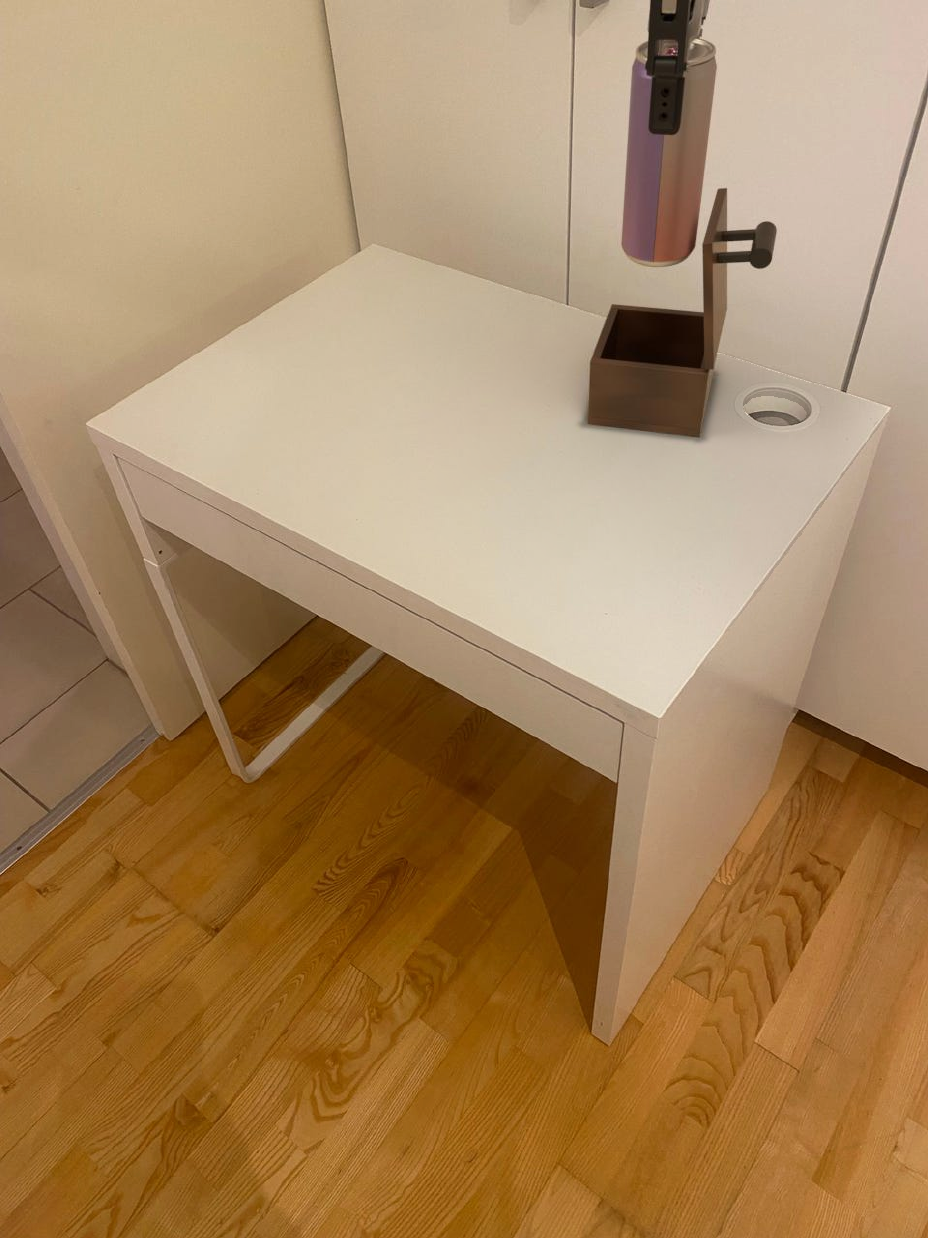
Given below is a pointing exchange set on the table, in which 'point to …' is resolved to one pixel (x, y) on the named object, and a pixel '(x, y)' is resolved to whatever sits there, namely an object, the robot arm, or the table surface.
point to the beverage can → (667, 163)
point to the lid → (717, 267)
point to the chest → (650, 371)
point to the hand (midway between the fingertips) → (670, 114)
